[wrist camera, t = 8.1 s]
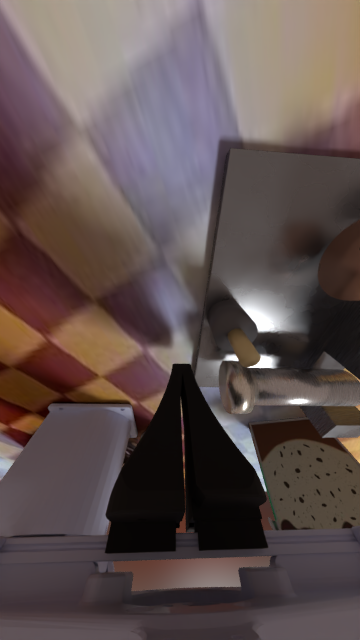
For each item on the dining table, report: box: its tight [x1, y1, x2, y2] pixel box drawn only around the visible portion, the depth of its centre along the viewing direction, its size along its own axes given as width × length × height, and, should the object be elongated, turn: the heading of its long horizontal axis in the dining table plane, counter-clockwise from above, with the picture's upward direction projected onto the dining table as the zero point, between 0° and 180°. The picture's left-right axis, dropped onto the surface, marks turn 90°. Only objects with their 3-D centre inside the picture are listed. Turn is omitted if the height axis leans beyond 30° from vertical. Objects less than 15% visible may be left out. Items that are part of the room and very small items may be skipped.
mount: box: [194, 148, 360, 438], centre depth 9 cm, size 13×17×5 cm
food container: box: [249, 417, 360, 530], centre depth 18 cm, size 12×6×10 cm, turn 99°
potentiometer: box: [207, 300, 261, 367], centre depth 9 cm, size 3×3×4 cm
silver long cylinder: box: [219, 360, 360, 414], centre depth 11 cm, size 9×4×4 cm, turn 87°
